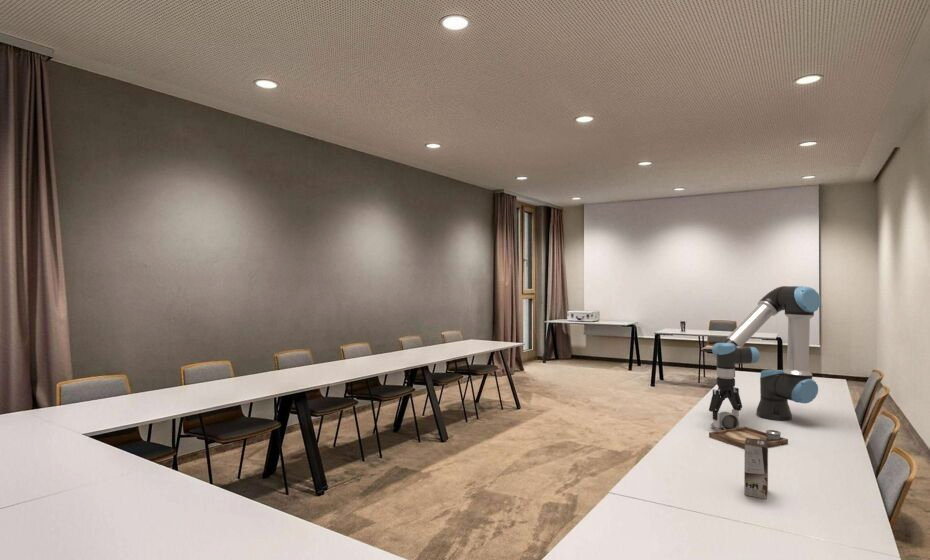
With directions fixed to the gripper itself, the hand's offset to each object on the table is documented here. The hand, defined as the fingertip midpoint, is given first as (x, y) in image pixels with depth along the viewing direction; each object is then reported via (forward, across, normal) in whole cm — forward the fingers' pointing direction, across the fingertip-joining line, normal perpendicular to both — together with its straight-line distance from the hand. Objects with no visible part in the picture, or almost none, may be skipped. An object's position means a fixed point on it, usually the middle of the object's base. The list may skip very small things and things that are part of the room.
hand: (725, 425), depth 238 cm
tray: (+2, +6, +16) cm, 17 cm away
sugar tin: (+2, -1, +22) cm, 22 cm away
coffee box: (+2, +51, +55) cm, 75 cm away
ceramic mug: (+2, 0, 0) cm, 2 cm away
